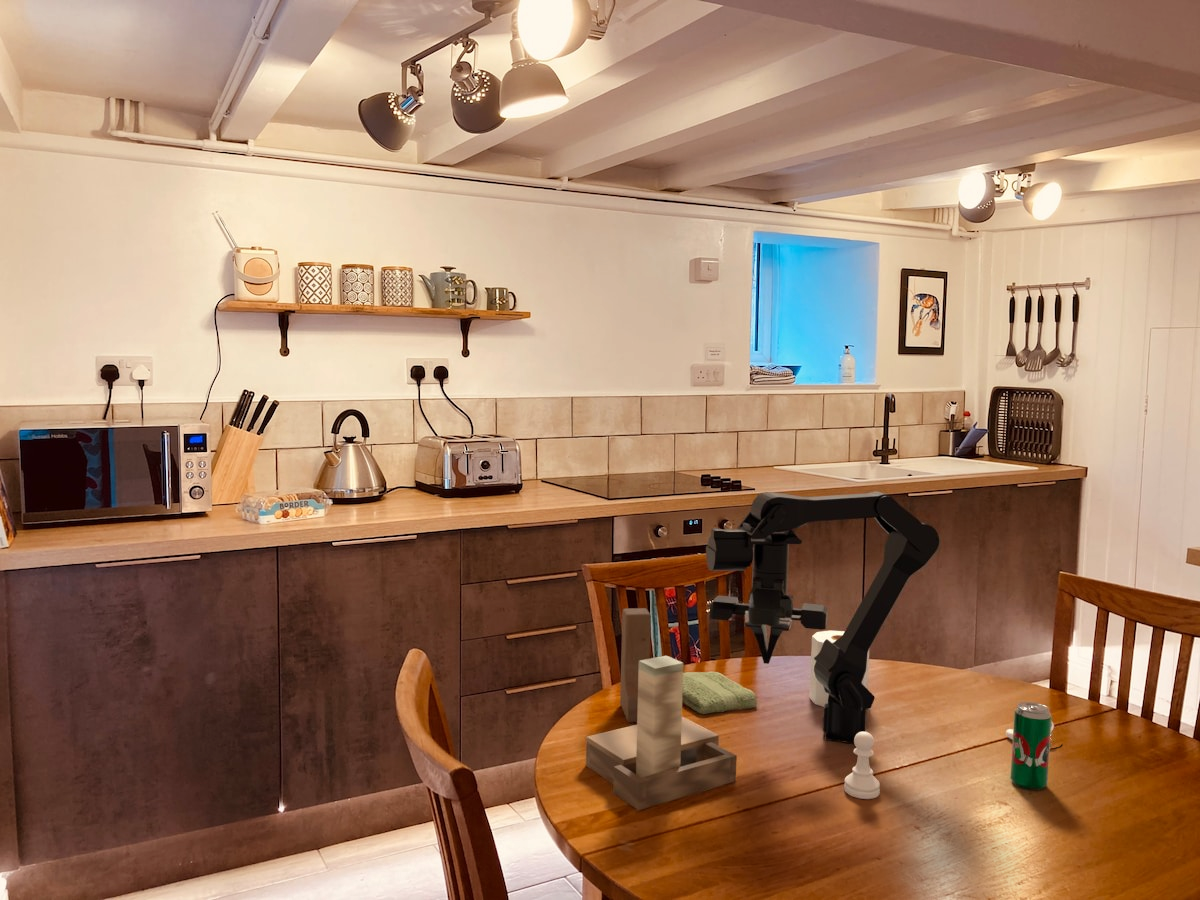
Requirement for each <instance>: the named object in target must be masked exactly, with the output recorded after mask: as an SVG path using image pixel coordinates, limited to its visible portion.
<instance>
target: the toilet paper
mask: <svg viewBox="0 0 1200 900" xmlns="http://www.w3.org/2000/svg"><path fill="white" fill-rule="evenodd" d="M844 632H845V631H843V630H823V631H822V630H821V631H817V632H815V633H814V634H813V635H812V636H811V655H810V674H809V675H810V677H809V679H810V680H809V700H811V701H812V702H813V704H815V705H817V706H820V707H822V708H824V705H825V704H828V697H829V694H828V693H826V692H825V690H824V687H823V685H822V684H821V683H820V682H819V681H818V680H817V679H816V677H815V673H814V666H815V663H816V660H814V657H816V656H817V655H818V654H819V652H820V651H821V648H822V646H823V643H824V641H825V640H826V639H828V640H829V641H830V642H832V643H833V642H835V641H836V640H838V639H839V638H840V637H841V636H842V635H843V634H844ZM869 663H870V650H869V651H868V655H867V666H866V672H865V675H864V678H863V681H862V684H863V685H864V686H865V687H866V688H867V689H868V690H869V688H868V685H869V684H868V683H869V669H870V667H869V665H870V664H869Z"/></svg>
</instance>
